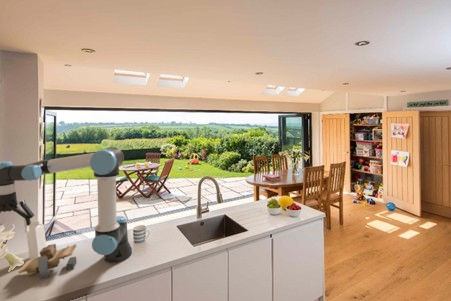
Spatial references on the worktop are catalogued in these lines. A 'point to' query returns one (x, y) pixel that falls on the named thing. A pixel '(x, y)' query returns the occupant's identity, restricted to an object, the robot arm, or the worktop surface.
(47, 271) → the fulcrum
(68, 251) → the tan piece
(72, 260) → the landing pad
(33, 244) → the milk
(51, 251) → the block
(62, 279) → the worktop surface
